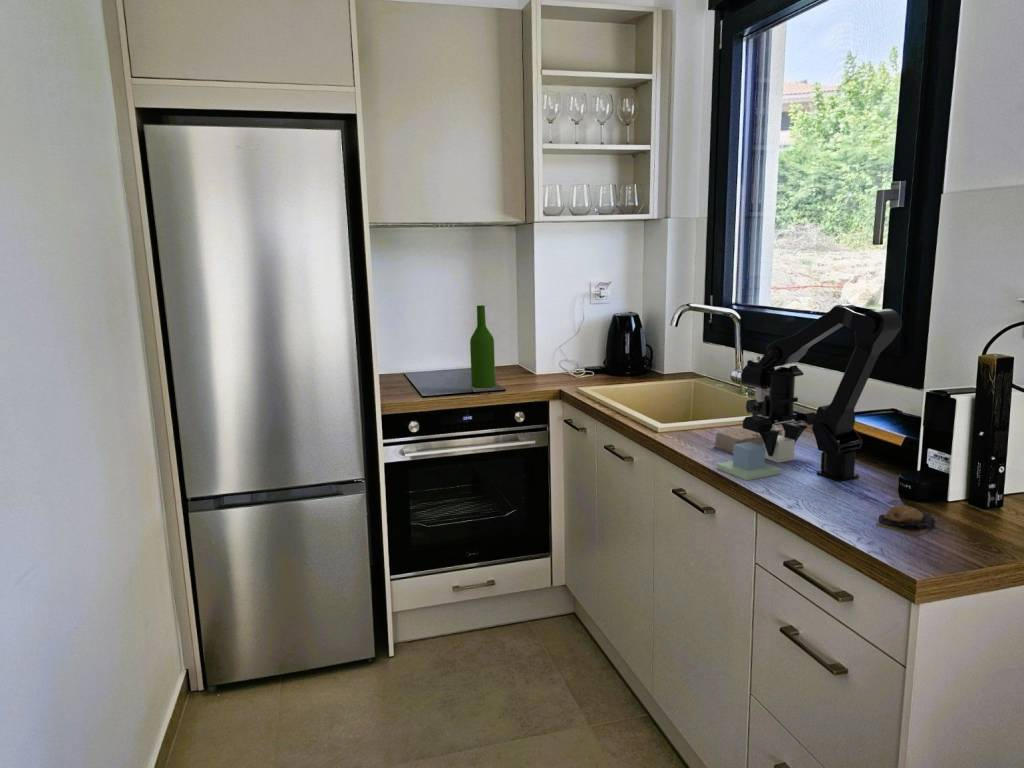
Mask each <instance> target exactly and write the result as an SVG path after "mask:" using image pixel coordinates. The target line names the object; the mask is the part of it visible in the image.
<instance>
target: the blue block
mask: <svg viewBox="0 0 1024 768" xmlns="http://www.w3.org/2000/svg"><path fill="white" fill-rule="evenodd" d="M765 449H766V447H765V446H762V445H759V444H756V443H753V442H745V443H739V444H734V446H733V453H732V461H733V465H734V466H737V467H739V468H742V469H745V470H747V471H749V470H754V469H760V468H765V463H766V458H765Z"/></svg>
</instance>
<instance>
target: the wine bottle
mask: <svg viewBox="0 0 1024 768" xmlns="http://www.w3.org/2000/svg"><path fill="white" fill-rule="evenodd" d="M485 307H486V306H485V305H482V304H481V305H476V325H477V326H476V327H475V328H476V329H475V330H474V331H473V333H472V335H471V336H470V341H469V347H470V348H469V349H470V370H471V371H470V375H471V376H470V377H471V378H470V379H471V388H472V387H474V388H492V387H495V386H496V359H495V358H496V357H495V340H494V336H493V335H492V334H491V332H490V330H489V328H487V324H486V323H487V321H486V308H485Z"/></svg>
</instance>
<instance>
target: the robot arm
mask: <svg viewBox="0 0 1024 768" xmlns="http://www.w3.org/2000/svg"><path fill="white" fill-rule="evenodd" d="M844 326H845V327H846V328H849V330H854V331H855V332H854V337H855V338H854V339H855V348H854V351H853V353H852V356H851V357H850V359H849V362H848V364H847V367H846V368H845V369H846V370H845V371H844V374H843V376H842V378H841V380H840V382H839V385H838V386H837V388H836V389H837V390H836V392H835V393H834V396H833V398H832V400H831V402H830V403H829V404H826V405H821V406H818V408H817V409H816V412H815V411H811V410H809V409H803V408H797V409H794V408H795V407H794V406H795V405H794V403H798V402H799V397H797V396H795V388H796V387H795V384H796V383H795V382H796V377H801V376H804V372H803V371H802V370H801V369H800V368H799V367H798V365H792V364H795V363H797V362H799V361H800V360H801V359H802V358H803V357H804V356H806V355H807V352H808V351H809V349H810V348H811V347H812V346H813V345H815V344H817V343H818V342H820V341H821V340H823V339H825V338H826V337H828V336H829V335H831V334H832V333H835V331H837V330H839V329H840V328H842V327H844ZM902 326H903V320H902V318H901V316H900V314H899V313H898V311H896V310H894V309H892V308H884V309H877V308H876V309H875V308H870V307H863V306H858V305H855V304H852V303H843V304H842V303H841V304H836V305H834V306H833V307H832V308H831V309H830V310H829V311H828V312H825V313H824V314H823V315H821V316H820V317H818V318H817V319H815V320H814V321H811V323H809V324H807V326H805V327H803V328H801V329H800V330H799V331H797V332H796V333H794V334H791V335H788V336H785V337H783V338H779V339H777V340H775V341H772V342H770V343H769V344H768V345H767V346H766V351H765V353H764V354H763V356H762V357H761V358H760V360H757V359H748V360H747V362H746V365H745V366H744V368H742V371H741V374H740V381H741V383H742V384H743V386H745V387H750V388H760V389H768V388H769V395H765V397H764V401H763V402H757V400H756V399H755V398H753V399H748V400H746V403H745V405H746V406H745V409H746V413H748V414H751V416H746V417H744V418H743V420H742V428H744V429H747V430H751V431H754V432H757V433H760V435H761V437H762V439H763V441H764V444H765V447H766V450H767V453H768V455H769V456H773V453H774V450H775V446H776V442H777V438H778V433H779V431H776V430H775V425H776V426H777V425H778V426H779V425H781V427H782V429H783V431H784V437H787V438H790V439H793V440H795V444H796V442H797V441H798V439H799V438H800V436H801V435H802V434H803V433H804V431H805V430H806V429H808V426H812V427H811V432H813V435H814V438H815V442H816V446H817V450H818V451H821V455H820V456H821V458H820V459H821V460H820V470H817V471H816V474H817V475H819V476H822V477H826V478H827V479H831V480H834V481H837V482H841V481H846V480H851V479H856V478H859V477H860V474H858V473H855V468H856V467H855V466H856V451H854V450H856V449H858V450H859V449H861V447H862V445H863V443H864V440H863V439H862V437H861V436H860V435H859V433H858V432H857V431H856V429H855V423H856V413H855V409H856V405H857V404H858V402H859V399H860V396H861V395H862V393H863V390H864V388H865V386H866V384H867V382H868V380H869V378H870V375H871V374H872V371H873V369H874V367H875V365H876V362H877V361H878V358H879V356H880V354H881V352H883V351H884V349H886V348H887V347H888V346H889V345H890V344H891V343H892V342H893V341H894V339H895V338H896V336H897V335H898V334H899V333H900V331H901V329H902V328H903V327H902ZM786 365H791V366H789V367H786ZM784 366H785V367H784ZM757 415H762V416H765V417H766V416H767V417H768V418H764V417H760V416H757ZM804 423H806V425H804Z"/></svg>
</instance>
